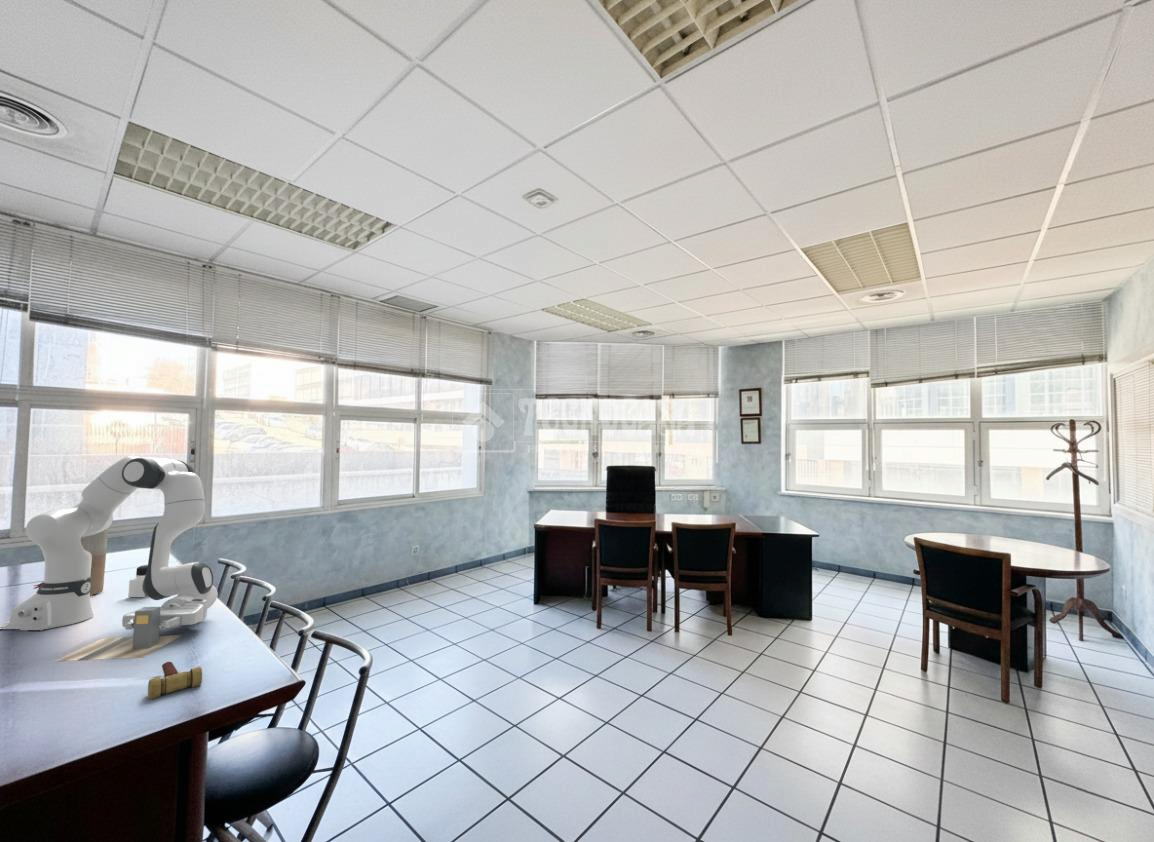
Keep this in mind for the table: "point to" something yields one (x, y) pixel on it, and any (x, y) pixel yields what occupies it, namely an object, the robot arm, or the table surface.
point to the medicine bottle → (138, 583)
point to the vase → (96, 558)
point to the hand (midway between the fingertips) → (145, 626)
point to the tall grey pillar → (146, 627)
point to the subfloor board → (115, 649)
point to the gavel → (173, 680)
